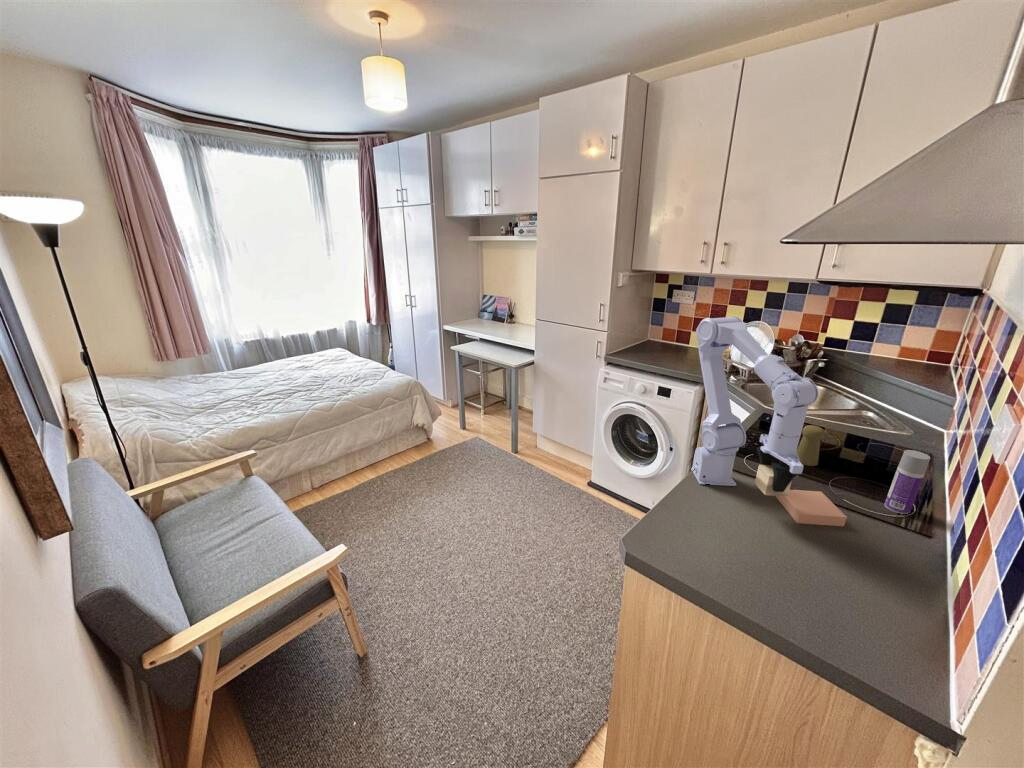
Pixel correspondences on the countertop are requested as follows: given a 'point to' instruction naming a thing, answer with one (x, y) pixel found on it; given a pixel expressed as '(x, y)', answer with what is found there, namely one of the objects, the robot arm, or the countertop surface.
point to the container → (907, 481)
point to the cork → (810, 445)
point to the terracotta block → (812, 508)
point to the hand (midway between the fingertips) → (772, 483)
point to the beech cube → (768, 481)
